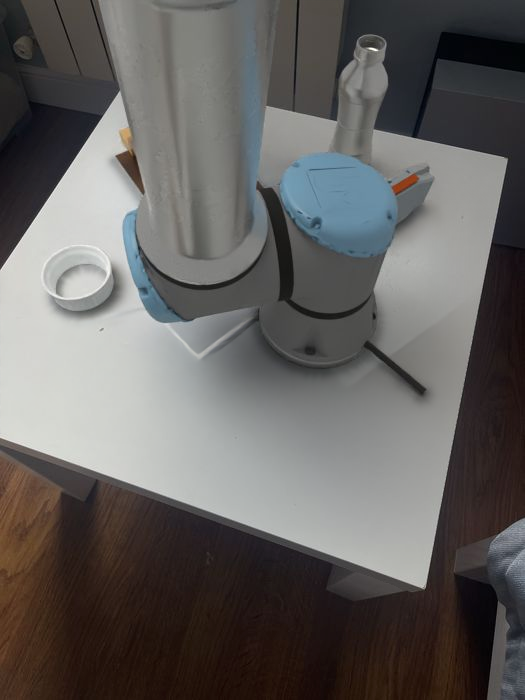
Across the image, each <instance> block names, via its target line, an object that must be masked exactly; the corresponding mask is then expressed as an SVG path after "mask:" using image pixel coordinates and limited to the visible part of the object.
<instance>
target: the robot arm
mask: <svg viewBox="0 0 525 700" xmlns="http://www.w3.org/2000/svg"><path fill="white" fill-rule="evenodd" d="M97 1H98V5H99V9H100V14H101V17H102V22H103V26H104V31H105V34H106V38H107V43H108V46H109V50H110V55H111V59H112V63H113V67H114V71H115V75H116V80H117V83H118V87H119V92H120V95H121V100H122V105H123V109H124V112H125V116H126V120H127V124H128V127H129V129H130V133H131V137H132V141H133V146H134V150H135V154H136V158H137V162H138V166H139V170H140V174H141V178H142V183H143V187H144V191H145V193H144V195H143V194H142V196H141V199H140V201H139V204H138V206H137V208H136V209H134V210H133V209H132V210H130V211H128V212H127V213H126V214H125V216H124V218H123V219H122V227H121V228H122V229H121V230H122V240H123V246H124V251H125V255H126V260H127V264H128V269H129V271H130V274H131V278H132V280H133V283H134V285H135V287H136V289H137V292H138V295H139V299H140V301H141V303H142V305H143V307H144V309H145V311H146V312H147V313H148V315H149V316H150V317H151V318H152V319H153V320H155V321H156V322H158V323H161V324H173V323H181V322H182V323H191V322H193V321H194V320H196V319H199V318H204V317H209V316H214V315H218V314H224V313H228V312H234V311H238V310H239V311H240V310H244V309H249V308H254V307H258V322H259V327H260V331H261V333H262V335H263V337H264V339H265V340H266V342H267V343H268V345H269V346H270V348H272V349H273V350H274V351H275V352H276V353H277V354H278V355H280V356H281V357H283V358H284V359H286V360H287V361H289V362H291V363H293V364H296V365H299V366H303V367H307V368H313V369H327V368H328V369H329V368H334V367H338V366H343V365H344V364H347V363H349V362H351V361H353V360H355V359H356V358H358V356H360V355H361V354H362V353H363V352H364V351H365V349H366V350H368V351H369V352H370V353H371V354H373V355H374V356H375V357H376V358H378V359H379V360H380V361H381V362H382V363H384V365H386V366H387V367H389V368H390V369H391V370H392V371H393V372H394V373H396V374H397V375H398V376H399V377H400V378H402V379H403V380H404V381H405V382H407V384H409V386H411V387H412V388H414V390H416V391H417V392H418V393H419V394H421V396H423V395H424V394H425V393H426V392H427V390H428V388H426V387H425V386H424V385H423V384H422V383H420V382H418V380H417V379H415V378H414V377H413V376H411V374H410V373H408V371H406V370H404V369H403V367H401V366H400V365H398V364H397V363H396V361H393V359H391V358H390V357H389V356H388V355H387V354H385V353H384V352H383V351H382V350H381V349H379V348H378V347H377V346H375V345H374V344H373V343H371V340H372V339H373V336H374V333H375V331H376V329H377V324H378V307H377V306H378V305H377V301H376V295H375V287H376V284H377V281H378V278H379V275H380V272H381V270H382V266H383V264H384V261H385V259H386V255H387V252H388V249H390V247H391V245H392V244H393V240H394V238H395V229H396V226H397V225H396V220H397V215H398V206H397V200H396V196H395V194H394V192H393V189H392V188H391V186H390V184H389V183H388V182H387V180H388V179H386V178H385V176H383V175H382V173H380V172H379V171H378V170H377V169H376V168H375V167H373V166H371V165H370V164H369V165H366V164H364V163H362V162H361V161H360V160H359V159H356V158H354V157H351V156H348V155H343V154H338V153H328V152H314V153H311V154H307V155H304V156H302V157H299V158H297V159H296V160H295V161H294V162H293V163H292V166H289V167H288V168H287V169H286V170H285V172H284V174H283V175H282V176H281V177H282V178H281V179H280V183H279V184H278V185H274V186H267V187H264V188H261V189H256V184H257V180H258V176H259V175H258V174H259V166H260V160H261V151H262V144H263V135H264V128H265V118H266V111H267V104H268V96H269V95H268V94H269V90H270V89H269V87H270V81H271V80H270V79H271V71H272V64H273V56H274V48H275V41H276V40H275V39H276V32H277V25H278V16H279V8H280V2H281V0H97Z"/></svg>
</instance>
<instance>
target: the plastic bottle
mask: <svg viewBox="0 0 525 700" xmlns="http://www.w3.org/2000/svg"><path fill="white" fill-rule="evenodd" d="M386 49H387V41H386V39H385V38H383V37H382V36H379V35H376V34H364V35H362V36H360V37H359V38H358V39H357V41H356V44H355V49H354V51H353V55H352V56H353V60H351V61H349V63H348V64H347V65H346V66H345V67H344V68H343V70H342V71H341V73H340V75H339V78H338V84H337V85H338V86H337V87H338V91H337V92H338V94H337V95H338V106H337V116H336V117H337V118H336V123H335V128H334V132H333V137H332V139H331V141H330V144H329V147H328V150H327V153H338V154H343V155H348V156H351V157H354V158H356V159H359V160H360V161H361V162H362V163H364V164H366V165H369V166H370V163H371V161H372V156H373V138H374V129H375V126H376V124H375V123H376V122H377V118H378V114H379V111H380V109H381V106H382V103H383V101H384V98H385V96H386V94H387V90H388V87H389V78H388V73H387V71H386V68H385V66H384V63H383V62H384V60H385V56H386Z"/></svg>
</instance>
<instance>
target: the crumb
mask: <svg viewBox="0 0 525 700" xmlns="http://www.w3.org/2000/svg"><path fill="white" fill-rule="evenodd" d="M118 133H119V138H120V140H121V143H122V144H123V145H124V147H125V148H126V149H127V151H129V152H130V154H131V155H132V156H135V155H134V154H133V152H132V150H131V148H130V147H129V145H128V141H127V137H130V136H131V133H130V129H129V126H127V127H125V128H122V129H120V130H118Z"/></svg>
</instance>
